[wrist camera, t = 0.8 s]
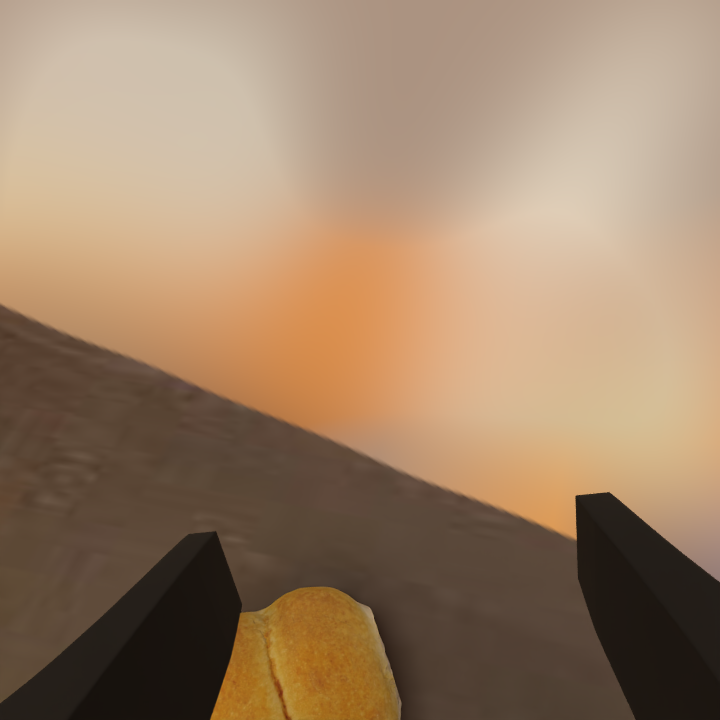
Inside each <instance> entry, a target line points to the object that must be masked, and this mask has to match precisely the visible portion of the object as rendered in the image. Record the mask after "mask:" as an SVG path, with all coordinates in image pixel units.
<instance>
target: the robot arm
mask: <svg viewBox="0 0 720 720" xmlns="http://www.w3.org/2000/svg"><path fill="white" fill-rule="evenodd" d="M576 526H577V527H576V528H577V560H578V579H579V583H580V586H581V589H582V592H583V595H584V598H585V601H586V604H587V607H588V610H589V613H590V616H591V619H592V622H593V625H594V628H595V631H596V633H597V636H598V638H599V640H600V642H601V644H602V647H603V649H604V651H605V653H606V656H607V658H608V660H609V662H610V664H611V667H612V669H613V671H614V673H615V675H616V678H617V680H618V682H619V684H620V686H621V688H622V691H623V693H624V695H625V697H626V699H627V702H628V704H629V706H630V708H631V710H632V712H633V715H634V717H635V719H636V720H720V582H719V581H717V580H716V579H715V578H714V577H712V576H711V575H710V574H708V573H707V572H706V571H705V570H703V569H702V568H701V567H700V566H698V565H697V564H696V563H694V562H693V561H692V560H690V559H689V558H688V557H687V556H685V555H684V554H683V553H682V552H680V551H679V550H678V549H677V548H675V547H674V546H673V545H672V544H670V543H669V542H668V541H667V540H666V539H664V538H663V537H662V536H661V535H660V534H658V533H657V532H656V531H655V530H653V529H652V528H651V527H650V526H649V525H648V524H646V523H645V522H644V521H643V520H642V519H641V518H639V517H638V516H637V515H636V514H635V513H634V512H632V511H631V510H630V509H629V508H628V507H627V506H625V505H624V504H623V503H622V502H621V501H620V500H618V499H617V498H616V497H615V496H613V495H612V494H611V493H609V492H607V493H597V494H587V495H577V496H576ZM241 607H242V603H241V600H240V597H239V595H238V592H237V589H236V586H235V583H234V581H233V578H232V575H231V572H230V569H229V566H228V564H227V561H226V558H225V555H224V552H223V550H222V547H221V544H220V541H219V538H218V535H217V533H216V531H215V532H205V533H195V534H188V535H187V536H186V537H185V538H184V539H183V540H181V541H180V542H179V543H178V544H177V545H176V546H175V547H174V548H173V549H172V550H171V551H170V552H168V553H167V554H166V555H165V556H164V557H163V558H162V559H161V560H160V561H159V562H158V563H157V564H156V565H155V566H154V567H153V568H152V569H151V570H150V571H149V572H148V573H147V574H146V575H145V576H144V577H143V578H142V579H141V580H140V581H139V582H138V583H137V584H135V585H134V586H133V587H132V588H131V589H130V590H129V591H128V592H127V593H126V594H125V595H124V596H123V597H122V598H121V599H120V600H119V601H118V602H117V603H116V604H115V605H114V606H113V607H112V608H110V609H109V610H108V611H107V612H106V613H105V614H104V615H103V616H102V617H101V618H100V619H99V620H98V621H96V622H95V623H94V624H93V625H92V626H91V627H90V628H89V629H88V630H86V631H85V632H84V633H83V634H82V635H81V636H80V637H79V638H78V639H76V640H75V641H74V642H73V643H72V644H71V645H70V646H69V647H68V648H66V649H65V650H64V651H63V652H62V653H61V654H60V655H59V656H58V657H56V658H55V659H54V660H53V661H52V662H51V663H49V664H48V665H47V666H46V667H45V668H44V669H42V670H41V671H40V672H39V673H38V674H36V675H35V676H34V677H33V678H32V679H30V680H29V681H28V682H27V683H26V684H24V685H23V686H22V687H21V688H19V689H18V690H17V691H15V692H14V693H13V694H12V695H10V696H9V697H8V698H7V699H5V700H4V701H3V702H2V703H0V720H210V719H211V716H212V713H213V710H214V707H215V705H216V702H217V699H218V696H219V693H220V690H221V687H222V683H223V680H224V677H225V674H226V671H227V668H228V665H229V662H230V659H231V656H232V651H233V647H234V642H235V638H236V633H237V628H238V623H239V618H240V613H241Z"/></svg>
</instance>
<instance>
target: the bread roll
mask: <svg viewBox="0 0 720 720" xmlns="http://www.w3.org/2000/svg"><path fill="white" fill-rule="evenodd" d="M401 705H402V703H401V700H400V697H399V693H398V691H397V687H396V684H395V681H394V677H393V672H392V670H391V668H390V663H389V661H388V658H387V656H386V653H385V648H384V644H383V642H382V640H381V637H380V635H379V632H378V628H377V625H376V623H375V620H374V615H373V613H372V611H371V609H370V608H369V607H368V606H365V605H363V604H360V603H358V602H357V601H355V600H354V599H353V598H351V597H350V596H348V595H347V594H345V593H343V592H341V591H339V590H337V589H335V588H331V587H306V588H299V589H296V590H294V591H291V592H289V593H286V594H285V595H283V596H282V597H280V598H279V599H277V600H276V601H275V602H274V603H272V604H271V606H269V607H267V608H265V609H262V610H260V611H257V612H243V613H240V618H239V623H238V628H237V633H236V638H235V642H234V647H233V651H232V656H231V659H230V662H229V665H228V668H227V671H226V674H225V677H224V680H223V683H222V687H221V690H220V693H219V696H218V699H217V702H216V705H215V707H214V710H213V713H212V716H211V719H210V720H400V717H401Z"/></svg>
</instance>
